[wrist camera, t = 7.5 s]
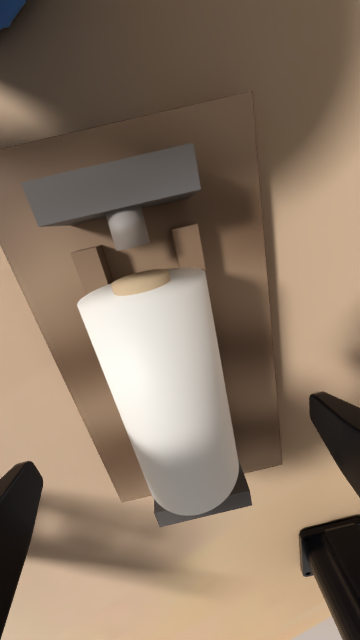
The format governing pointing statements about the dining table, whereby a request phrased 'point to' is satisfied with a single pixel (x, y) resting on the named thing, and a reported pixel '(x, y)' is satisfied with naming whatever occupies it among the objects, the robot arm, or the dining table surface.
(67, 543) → the dining table surface
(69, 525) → the dining table surface
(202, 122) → the cradle
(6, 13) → the snack cup
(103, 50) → the dining table surface
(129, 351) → the roll
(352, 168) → the dining table surface
